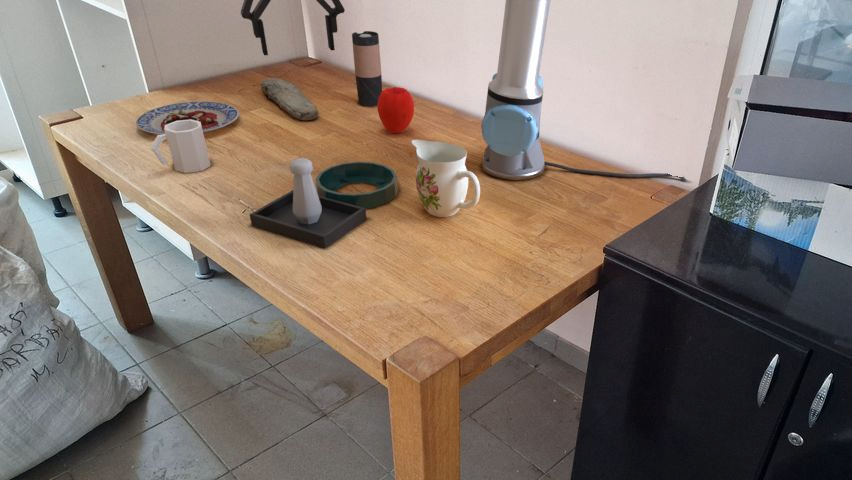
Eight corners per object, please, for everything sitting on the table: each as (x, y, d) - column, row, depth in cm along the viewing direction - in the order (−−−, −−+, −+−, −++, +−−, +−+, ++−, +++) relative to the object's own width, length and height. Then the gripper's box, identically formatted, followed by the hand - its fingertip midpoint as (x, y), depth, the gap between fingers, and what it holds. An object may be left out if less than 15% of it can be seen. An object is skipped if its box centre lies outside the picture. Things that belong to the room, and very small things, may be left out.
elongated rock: (293, 129, 181) (327, 124, 186) (291, 110, 178) (326, 106, 183) (253, 87, 204) (285, 85, 209) (251, 71, 201) (284, 68, 206)
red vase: (405, 140, 173) (403, 95, 166) (372, 135, 176) (368, 90, 169) (421, 128, 181) (419, 84, 174) (389, 123, 184) (386, 79, 177)
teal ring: (412, 185, 151) (411, 171, 149) (367, 216, 137) (365, 201, 135) (349, 169, 157) (348, 156, 155) (301, 198, 143) (298, 183, 141)
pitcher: (461, 234, 132) (461, 171, 125) (398, 207, 141) (394, 147, 134) (494, 214, 140) (496, 154, 132) (432, 190, 149) (430, 132, 141)
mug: (202, 155, 161) (193, 117, 155) (217, 166, 156) (208, 127, 150) (152, 168, 154) (140, 128, 148) (165, 180, 149) (154, 139, 143)
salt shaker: (297, 228, 131) (287, 168, 124) (291, 216, 135) (281, 157, 128) (326, 223, 133) (318, 164, 126) (319, 211, 137) (311, 153, 130)
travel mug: (378, 108, 194) (373, 38, 183) (353, 105, 195) (347, 36, 184) (387, 100, 200) (382, 32, 189) (363, 97, 201) (357, 30, 190)
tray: (366, 219, 136) (365, 208, 135) (325, 248, 126) (323, 236, 125) (296, 199, 143) (294, 188, 141) (251, 225, 133) (249, 214, 131)
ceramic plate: (252, 130, 175) (250, 120, 174) (148, 149, 163) (145, 138, 161) (226, 103, 193) (224, 93, 191) (130, 118, 181) (127, 107, 179)
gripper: (343, -66, 132) (353, 42, 144) (212, -64, 123) (234, 51, 135) (352, -62, 127) (362, 51, 138) (215, -60, 118) (238, 60, 129)
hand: (299, 51), depth 137 cm, fingers open, 13 cm apart
